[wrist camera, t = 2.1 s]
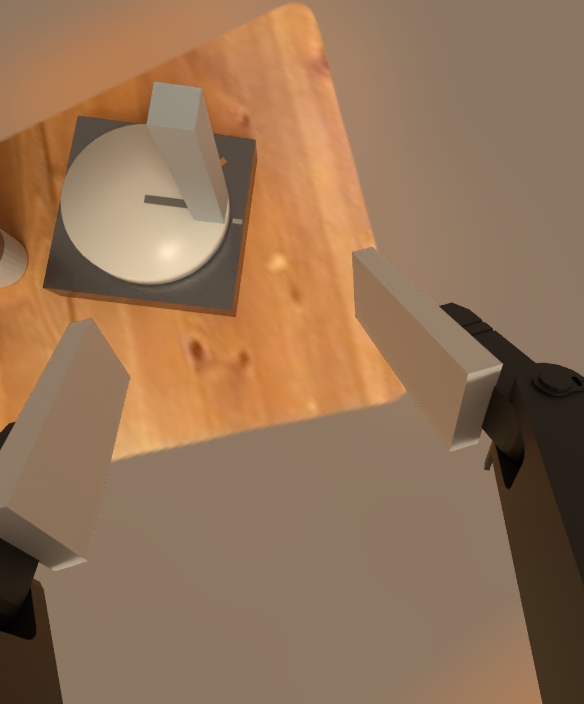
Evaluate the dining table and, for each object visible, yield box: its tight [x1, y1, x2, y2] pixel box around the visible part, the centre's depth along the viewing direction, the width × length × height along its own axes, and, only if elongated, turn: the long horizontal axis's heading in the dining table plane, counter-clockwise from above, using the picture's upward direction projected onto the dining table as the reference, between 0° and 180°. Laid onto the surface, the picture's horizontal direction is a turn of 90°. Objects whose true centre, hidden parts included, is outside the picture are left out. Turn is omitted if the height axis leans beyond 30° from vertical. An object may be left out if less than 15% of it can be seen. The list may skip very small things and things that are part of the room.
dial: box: [61, 81, 230, 285], centre depth 28 cm, size 16×16×14 cm
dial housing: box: [43, 116, 257, 317], centre depth 37 cm, size 19×19×3 cm
